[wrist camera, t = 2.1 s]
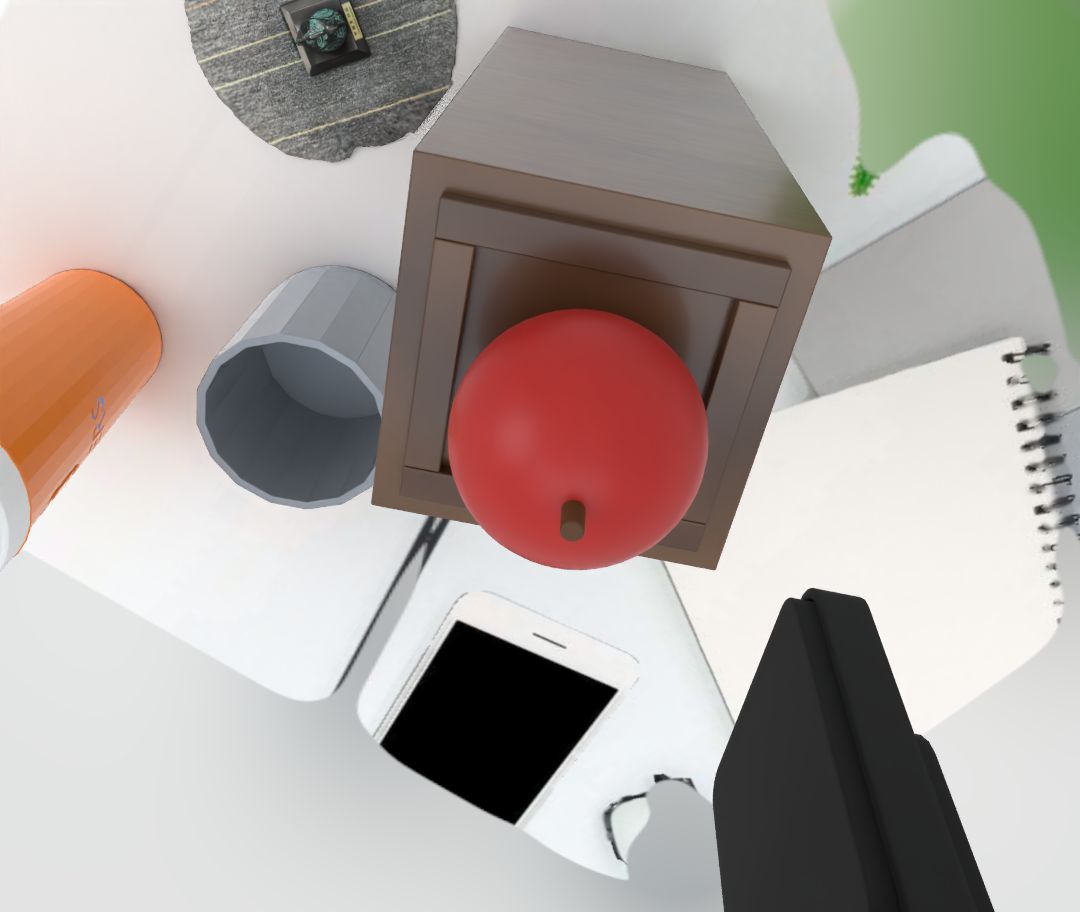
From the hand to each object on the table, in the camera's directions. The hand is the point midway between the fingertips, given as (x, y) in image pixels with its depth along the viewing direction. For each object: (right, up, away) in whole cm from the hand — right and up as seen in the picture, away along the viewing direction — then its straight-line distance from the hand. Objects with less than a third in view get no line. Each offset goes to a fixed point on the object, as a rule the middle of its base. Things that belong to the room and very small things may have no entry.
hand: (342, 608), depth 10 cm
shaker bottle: (-22, +8, +42) cm, 48 cm away
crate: (+5, +15, +35) cm, 39 cm away
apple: (+3, +4, +15) cm, 15 cm away
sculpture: (-8, +21, +33) cm, 40 cm away
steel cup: (-8, +7, +41) cm, 43 cm away
